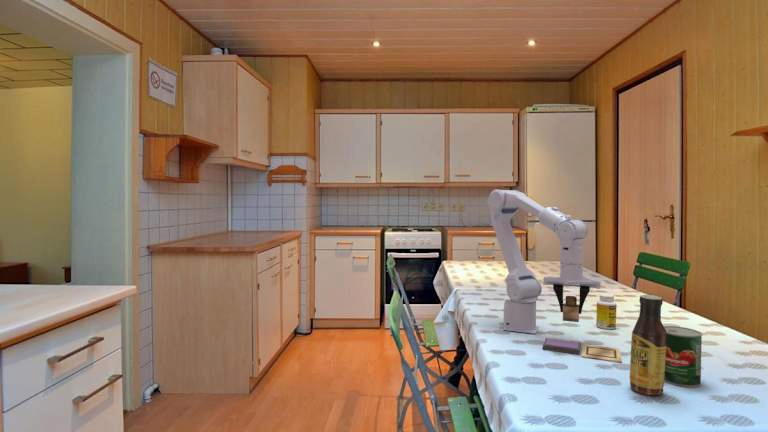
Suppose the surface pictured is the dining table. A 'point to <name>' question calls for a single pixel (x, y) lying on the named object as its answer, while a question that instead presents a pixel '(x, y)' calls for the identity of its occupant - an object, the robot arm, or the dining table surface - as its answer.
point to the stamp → (571, 309)
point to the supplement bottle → (606, 312)
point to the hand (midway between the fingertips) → (570, 312)
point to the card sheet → (601, 353)
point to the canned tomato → (683, 356)
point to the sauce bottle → (648, 348)
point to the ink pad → (562, 346)
